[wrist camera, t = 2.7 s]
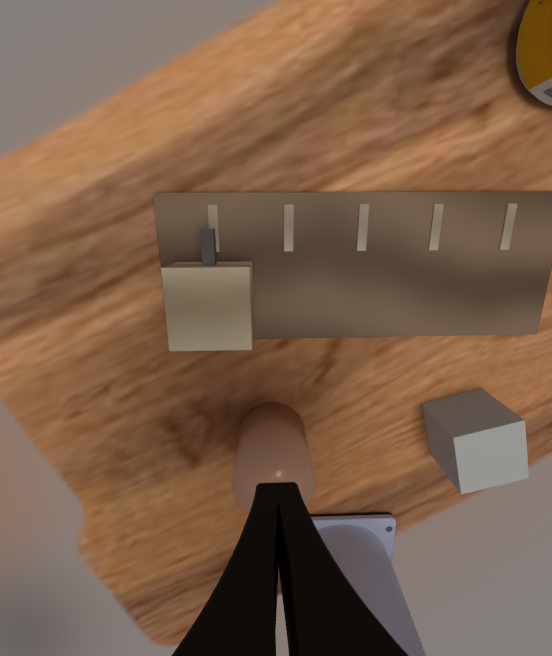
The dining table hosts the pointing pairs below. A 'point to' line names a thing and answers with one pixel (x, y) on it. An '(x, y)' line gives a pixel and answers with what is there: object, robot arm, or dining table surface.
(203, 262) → the birch slider
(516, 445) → the grey cube
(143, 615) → the dining table surface
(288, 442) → the terracotta cylinder
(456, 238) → the board
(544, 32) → the beer can
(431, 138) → the dining table surface
